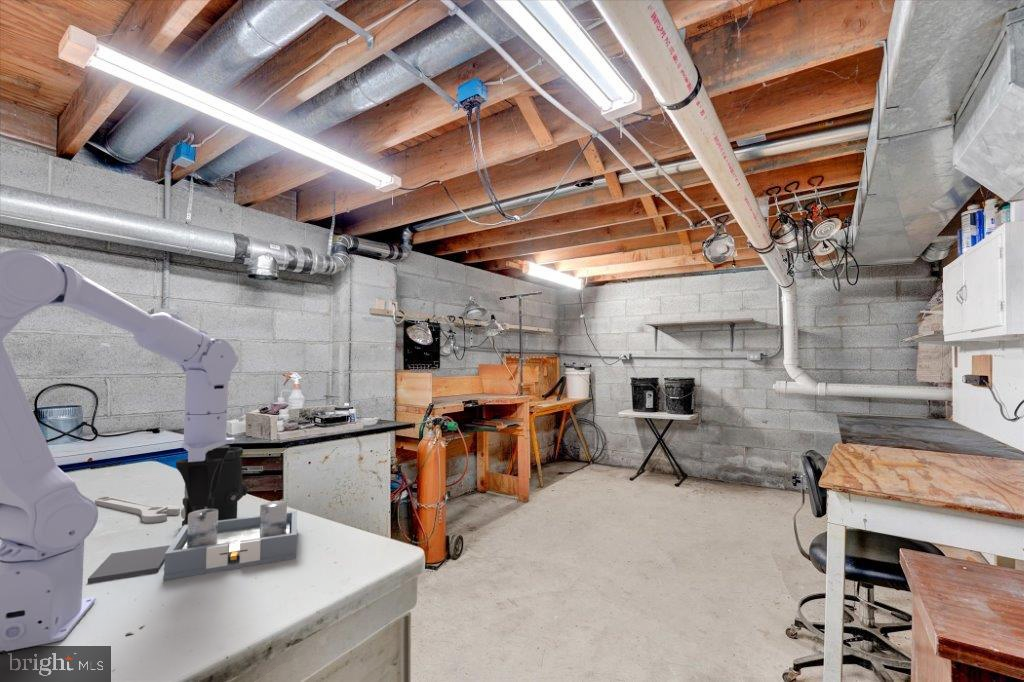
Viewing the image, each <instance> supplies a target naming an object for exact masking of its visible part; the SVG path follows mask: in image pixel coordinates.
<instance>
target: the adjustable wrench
mask: <svg viewBox="0 0 1024 682" xmlns="http://www.w3.org/2000/svg"><path fill="white" fill-rule="evenodd" d="M94 503H95V504H96V506H100V507H105V508H109V509H113V510H118V511H122V512H127V513H131V514H135V515H139V516H141V521H142V522H143V523H146V524H154V523H161V522H166V521H168V516H180V515H181V507H180V506H179V505H175V504H173V503H172V504H167V505H165V504H163V505H148V504H145V503H140V502H136V501H131V500H127V499H122V498H118V497H113V496H103V497H102V496H101V497H97V498H95V499H94Z"/></svg>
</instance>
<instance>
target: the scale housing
mask: <svg viewBox="0 0 1024 682" xmlns="http://www.w3.org/2000/svg"><path fill="white" fill-rule="evenodd" d="M297 517H298V511H297V510H294V511H293V510H292V511H287V522H286V523H288V522H290V534H284V535H277V536H270V537H263V538H256V539H249V540H242V541H240V556H237V559H236V560H230V557H229V542H228V543H222V544H215V545H208V546H201V547H194V548H187V549H183V547H184V545H185V544H186V542H187V531H188V525H184V526H183V527H182V526H181V529H180V531H178V533H177V534H176V536H175V538H174V539H173V540H172V542H171V543H170V544H169V545H170V547H169V548H168V550H167V551H166V553H165V561H164V563H163V565H164V567H163V576H162V577H163V578H162V581H167V580H173V579H179V578H185V577H191V576H197V575H202V574H204V575H205V574H211V573H216V572H221V571H227V570H232V569H233V570H234V569H238V568H239V569H240V568H246V567H251V566H257V565H262V564H269V563H276V562H281V561H286V560H287V561H288V560H293V559H297V544H298V543H297V540H298V539H297V536H298V533H297V531H298V528H297V527H298V525H297V524H298V523H297V521H298V520H297V519H298V518H297ZM259 526H260V515H254V516H253V515H251V516H245V517H239V518H238V517H237V518H236V519H228V520H220V521H218V532H222V531H229V530H236V529H244V528H251V527H259Z"/></svg>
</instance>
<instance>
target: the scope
mask: <svg viewBox="0 0 1024 682" xmlns="http://www.w3.org/2000/svg"><path fill="white" fill-rule="evenodd" d="M243 454H244V449H243V448H242V447H238V446H233V447H232V446H230V449H229V450H228V452H227V454H226V456H225V458H224V461H223V463H222V467H221V470H220V475H219V479H218V483H217V487H216V490H215V491H211V492H210V497H209V500H208V503H207V505H199V506H190V503H189V499H188V494H187V490H186V485H185V484H184V491H183V492H184V494H183V495H184V498H182V505H183V508H180V517H181V518H182V519H183V520H182V522H181V528H182V527H183V526H184V525H188V514H190V513H191V512H194V511H197V510H202V509H217V510H218V521H220V520H228V519H236V518H238V502H239V501H240V500H241V499H242V498H243V497H244V496H246V495H247V494H248V492H249V487H248V486H247V485H246V484H245V483H243V461H242V460H243V458H242V456H243Z"/></svg>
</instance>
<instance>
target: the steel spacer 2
mask: <svg viewBox="0 0 1024 682" xmlns="http://www.w3.org/2000/svg"><path fill="white" fill-rule="evenodd" d="M259 507H260V509H259V516H260V538H263V537H270V536H277V535H284V534H286V522H287V512H288V509H287V508H288V502H287V501H285V500H272V501H267V502H264V503H262V504H261V505H259Z"/></svg>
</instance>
